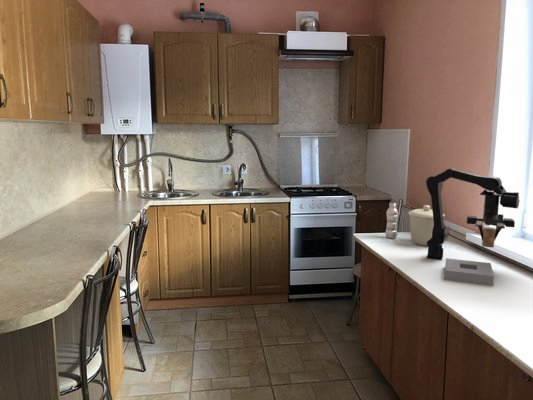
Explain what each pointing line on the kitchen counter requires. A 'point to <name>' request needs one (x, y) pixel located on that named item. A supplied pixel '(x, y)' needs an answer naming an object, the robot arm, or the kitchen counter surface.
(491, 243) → the walnut post
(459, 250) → the kitchen counter surface
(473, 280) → the well block
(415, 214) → the canister
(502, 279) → the kitchen counter surface
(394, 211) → the plastic bottle
